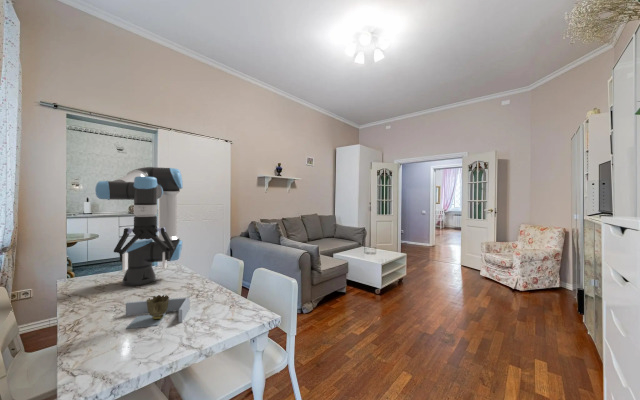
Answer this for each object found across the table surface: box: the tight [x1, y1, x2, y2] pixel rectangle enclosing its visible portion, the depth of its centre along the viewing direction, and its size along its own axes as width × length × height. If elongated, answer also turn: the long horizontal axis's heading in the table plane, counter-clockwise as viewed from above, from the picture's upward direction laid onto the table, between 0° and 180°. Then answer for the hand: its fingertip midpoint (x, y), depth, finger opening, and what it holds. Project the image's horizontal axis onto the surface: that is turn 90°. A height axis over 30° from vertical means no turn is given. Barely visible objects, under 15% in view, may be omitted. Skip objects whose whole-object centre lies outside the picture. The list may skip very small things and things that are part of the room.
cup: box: [146, 294, 170, 320], centre depth 98 cm, size 8×7×8 cm
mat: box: [125, 312, 167, 330], centre depth 97 cm, size 10×10×1 cm
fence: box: [125, 296, 191, 324], centre depth 99 cm, size 13×23×5 cm, turn 105°
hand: (145, 268), depth 100 cm, fingers open, 13 cm apart
